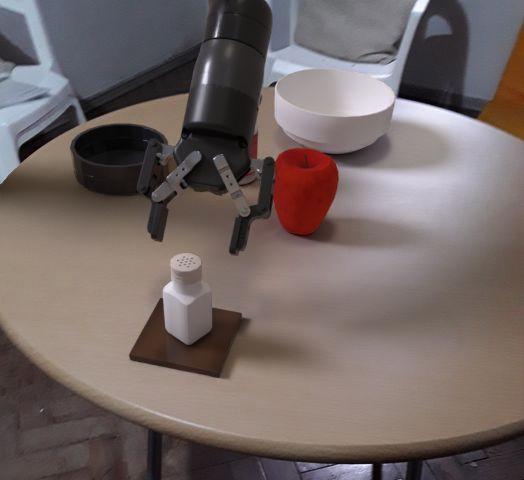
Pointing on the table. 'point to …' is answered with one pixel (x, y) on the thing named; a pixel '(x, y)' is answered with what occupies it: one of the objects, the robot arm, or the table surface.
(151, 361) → the coaster
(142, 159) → the pan
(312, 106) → the bowl
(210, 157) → the robot arm
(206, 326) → the salt shaker
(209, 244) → the table surface
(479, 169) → the table surface
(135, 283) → the table surface
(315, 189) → the apple
